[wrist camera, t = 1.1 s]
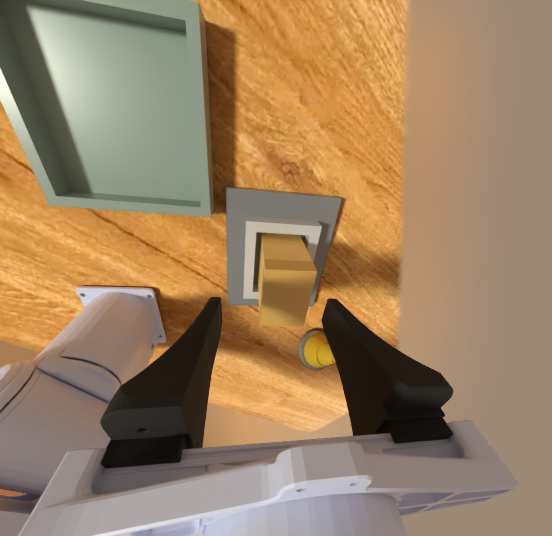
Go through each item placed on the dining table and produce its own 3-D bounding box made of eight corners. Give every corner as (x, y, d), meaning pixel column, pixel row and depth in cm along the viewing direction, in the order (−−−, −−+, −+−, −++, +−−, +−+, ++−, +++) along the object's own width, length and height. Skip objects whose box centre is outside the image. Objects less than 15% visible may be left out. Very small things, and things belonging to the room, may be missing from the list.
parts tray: (214, 209, 20) (210, 217, 19) (69, 198, 19) (49, 205, 17) (205, 20, 14) (198, 2, 12) (-22, -25, 12) (-71, -54, 10)
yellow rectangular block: (291, 281, 25) (303, 326, 19) (257, 279, 24) (259, 326, 19) (299, 234, 22) (317, 271, 16) (261, 232, 21) (265, 269, 15)
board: (311, 302, 28) (315, 314, 26) (228, 300, 27) (226, 313, 25) (339, 196, 21) (347, 202, 19) (226, 186, 19) (223, 191, 17)
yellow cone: (284, 336, 32) (324, 345, 23) (311, 324, 35) (357, 327, 26) (295, 370, 32) (339, 392, 23) (322, 355, 34) (371, 370, 25)
